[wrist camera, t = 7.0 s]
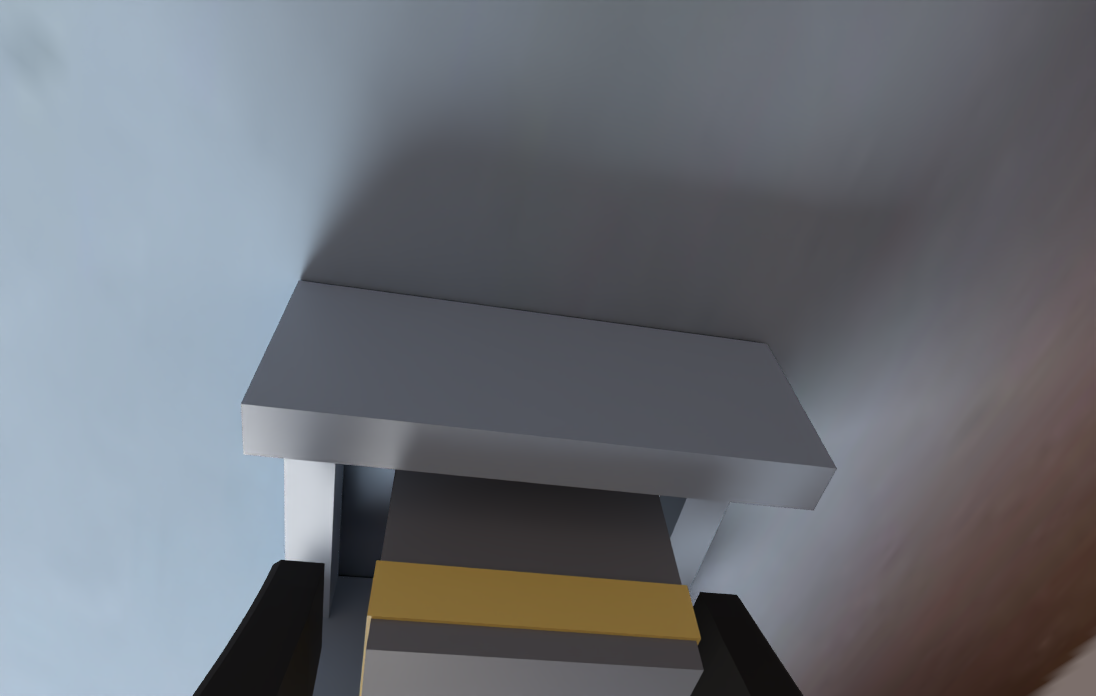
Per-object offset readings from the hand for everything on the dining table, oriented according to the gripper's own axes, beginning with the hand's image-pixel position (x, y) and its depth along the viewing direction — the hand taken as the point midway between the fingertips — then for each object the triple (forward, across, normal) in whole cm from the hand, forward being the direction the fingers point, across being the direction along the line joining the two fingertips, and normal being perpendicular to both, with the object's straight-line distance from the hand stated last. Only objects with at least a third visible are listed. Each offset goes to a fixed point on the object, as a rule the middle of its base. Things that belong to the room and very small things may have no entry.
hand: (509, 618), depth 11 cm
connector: (+3, 0, 0) cm, 3 cm away
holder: (+3, 0, 0) cm, 3 cm away
